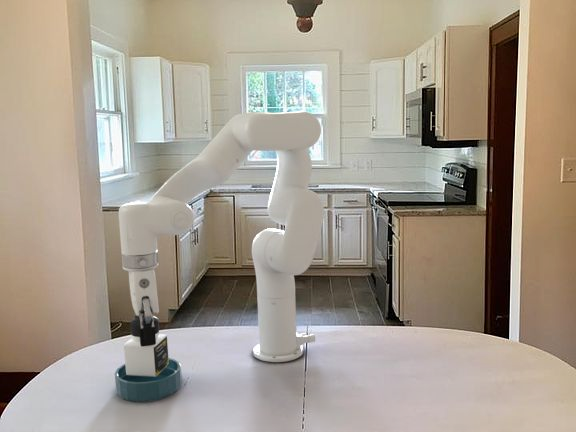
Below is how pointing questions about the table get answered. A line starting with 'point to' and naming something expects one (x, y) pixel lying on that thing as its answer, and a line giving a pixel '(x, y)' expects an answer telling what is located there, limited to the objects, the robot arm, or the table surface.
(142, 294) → the robot arm
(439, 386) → the table surface
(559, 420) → the table surface
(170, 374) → the dish
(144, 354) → the medicine bottle
